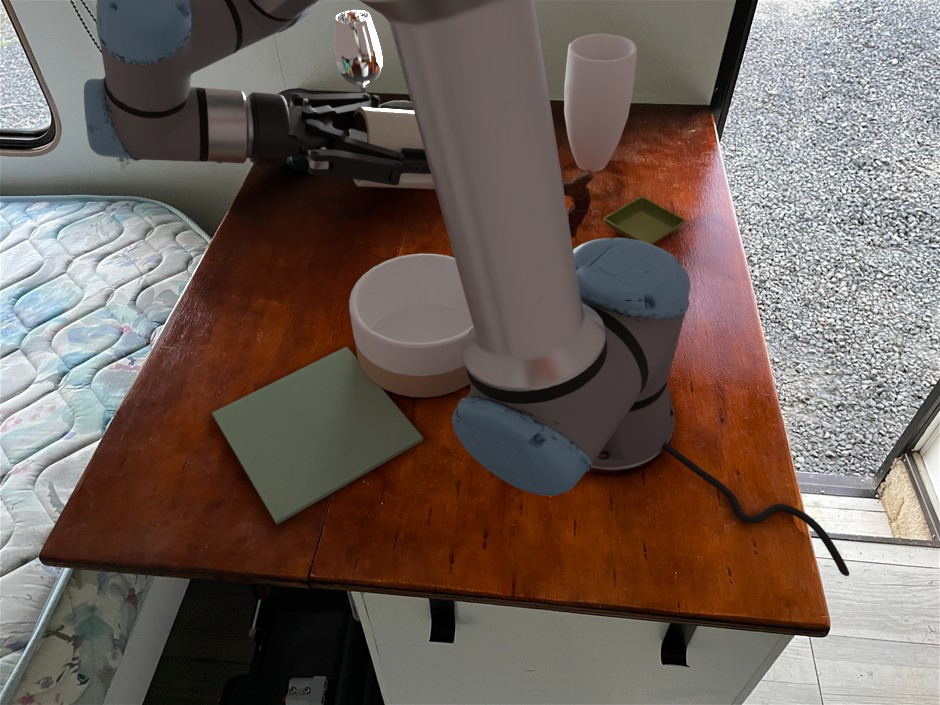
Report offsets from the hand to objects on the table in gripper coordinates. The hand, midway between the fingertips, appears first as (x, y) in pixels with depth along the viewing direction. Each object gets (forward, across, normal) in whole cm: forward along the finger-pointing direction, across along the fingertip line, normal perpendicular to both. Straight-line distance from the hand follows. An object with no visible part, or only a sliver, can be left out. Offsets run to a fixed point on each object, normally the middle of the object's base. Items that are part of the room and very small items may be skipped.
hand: (441, 141), depth 86 cm
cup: (+33, -12, -12) cm, 37 cm away
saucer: (+34, +3, -11) cm, 36 cm away
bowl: (-2, +15, -21) cm, 26 cm away
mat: (-17, +22, -25) cm, 37 cm away
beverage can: (-7, -35, -26) cm, 44 cm away
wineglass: (+5, -42, -23) cm, 48 cm away
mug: (+18, 0, -16) cm, 24 cm away
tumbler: (-5, 0, -6) cm, 8 cm away
